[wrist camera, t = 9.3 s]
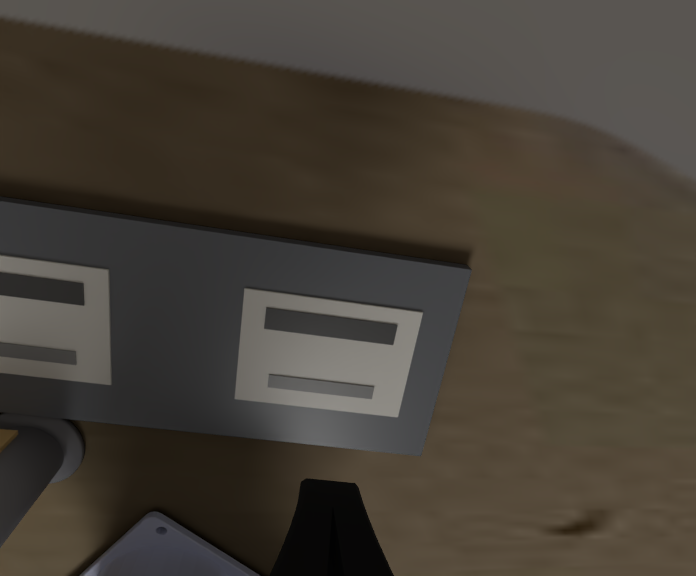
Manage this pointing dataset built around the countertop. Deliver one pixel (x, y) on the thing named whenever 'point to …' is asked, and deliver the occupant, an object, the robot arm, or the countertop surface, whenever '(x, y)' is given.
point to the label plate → (216, 332)
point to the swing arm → (24, 472)
